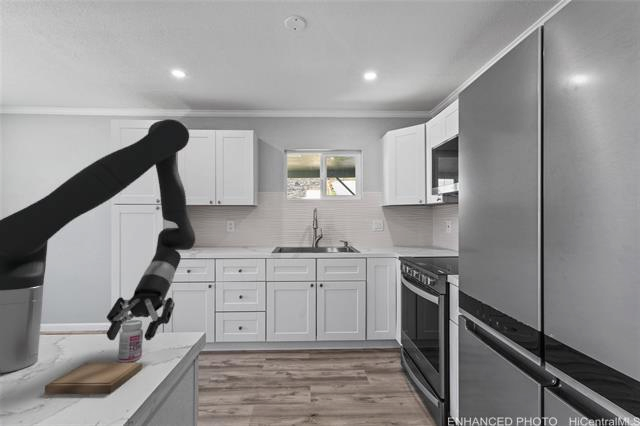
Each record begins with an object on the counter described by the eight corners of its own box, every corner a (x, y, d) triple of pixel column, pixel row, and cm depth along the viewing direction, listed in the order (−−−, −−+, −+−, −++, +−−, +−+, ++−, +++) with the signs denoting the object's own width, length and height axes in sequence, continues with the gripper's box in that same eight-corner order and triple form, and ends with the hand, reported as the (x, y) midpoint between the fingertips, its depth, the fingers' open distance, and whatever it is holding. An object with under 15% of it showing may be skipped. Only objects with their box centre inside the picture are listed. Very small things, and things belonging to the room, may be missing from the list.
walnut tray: (44, 393, 56) (45, 384, 56) (85, 369, 66) (85, 362, 66) (110, 393, 56) (111, 384, 56) (141, 369, 66) (141, 361, 66)
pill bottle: (130, 363, 69) (132, 325, 70) (112, 362, 70) (115, 324, 71) (146, 355, 74) (148, 320, 74) (129, 354, 75) (131, 319, 75)
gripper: (124, 273, 81) (90, 330, 68) (178, 273, 81) (154, 330, 69) (135, 289, 86) (104, 346, 73) (186, 289, 86) (164, 346, 74)
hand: (128, 338), depth 71 cm, fingers open, 8 cm apart
